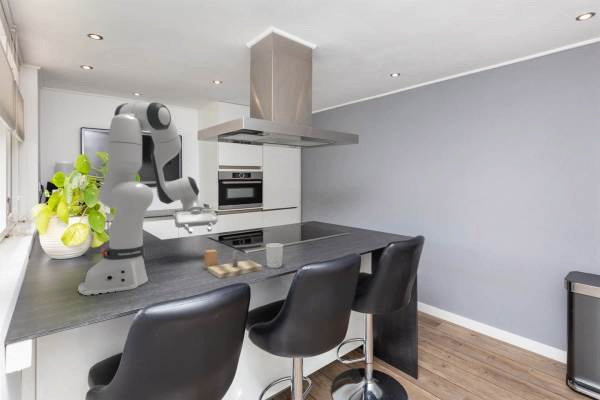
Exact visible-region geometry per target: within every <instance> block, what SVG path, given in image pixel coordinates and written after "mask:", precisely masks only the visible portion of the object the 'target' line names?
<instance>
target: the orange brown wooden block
mask: <svg viewBox="0 0 600 400" xmlns="http://www.w3.org/2000/svg"><path fill="white" fill-rule="evenodd" d="M217 265H218V251H217V250H216V249H207V250H206V249H205V250H204V269H205V270H207V271H208V267H212V266H217Z"/></svg>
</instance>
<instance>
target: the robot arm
mask: <svg viewBox="0 0 600 400" xmlns="http://www.w3.org/2000/svg"><path fill="white" fill-rule="evenodd" d="M143 132H150V136H151V139H152V141H153V144H154V150H153V152H152V153H151V155H150V159H151V166H152V170H153V175H154V180H155V184H156V196H157V198H158V200H159V202H160V203H163V204H167V205H169V204H171V203H173V202H176V201H180V203H181V204H182V210H175V211H173V212H172V217H173V218H174V224H175V227H176V228H180V229H181V228H183V229H185V230H186V231H187V233H188V234H190V235H191V234H193V229H192V228H190V227H203V226H208V227H207V229H206V230H207V232H209V233H210V232H212V229H213V228H212V226H213V225H216V224H217V223H218V220H219V218H218V215H217V214H216V212H215V211H214V209H213V207H212V204H207V203H204V202H201V201H200V200H199V193H200V189H199V188H198V184H197V181H196V180H195V178H193V177H191V176H185V177H181V178H178V179H176V180H175V179H174V180H171V181H165V175H164V171H163V168H164V166H165V165H166V164H167V163H168V162H169V161H171V160H172V159H174V158H175V157H177V156H178V154H179V153H180V151H181V149H182V141H181V137H180V134H179V132H178V130H177V127H176V125H175V123H174V121H173V120H172V114H171V112H170V110H169V108H168V107H167V106H166V105H164V104H163V103H161V102H148V101H147V102H142V101H138V102H136V101H135V102H130V103H129V102H125V103H122V104H120V105H117V107H116V108H115V111H114V116H113V117H112V118H111V121H110V126H109V133H108V146H107V148H108V155H107V157H108V158H107V168H106V172H105V175H104V179H103V183H102V185H101V186H100V188H99V189H98V191H97V196H98V197H97V198H98V199H99V202H100V203H101V204H102V205H104V206H106V207H107V208H109V209H113V210H115V211H114V217H113V220H112V222H111V223H110V225H109V227H108V237H109V239H108V241H109V244H108V245H109V247H108V248H106V247H102V248H101V249H100V253H101V254H102V256H103V257H102V259H101V260H100V261H98V262H97V263H96V264H94V265H93V266H92V267H90V268H89V269H88V271H87V272H86V275H85V281H84V282H82V283H80V284H79V285H78V287H77V292H78V291H79V293H81V294H84V295H83V296H85V295H87V296H92V295H91V294H94V295H100V294H99V293H102V294H108V293H107V292H109V293H115V291H116V292H121V291H123V292H124V291H129V290H134V289H136V288H138V287H139V286H141V285H143V284H145V283H147V282H148V281H149V278H148V275H147V271H146V266H145V260H144V259H145V255H146V253H145V245H144V243H143V241H144V238H143V237H144V235H143V234H144V233H143V232H144V231H143V230H144V220H145V217H146V213H147V211H148V209H149V207H150V206H151V205H152V203H153V202H154V193H153V190H152V189H151V187H150V186H148V185H146V184H144V183H142V182H138V181H136V178H137V175H138V173H139V171H140V170H141V168H142V167H143ZM79 293H78V294H79ZM81 294H80V295H81Z"/></svg>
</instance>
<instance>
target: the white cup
mask: <svg viewBox="0 0 600 400" xmlns="http://www.w3.org/2000/svg"><path fill="white" fill-rule="evenodd" d="M265 249H266V250H265V252H266V254H265V255H266V265H267V268H271V269H277V268H281V267H282V266H283V265H282V263H283V254H284V253H283V252H284V244H283V243H277V242H276V243H274V242H272V243H271V242H270V243H266V245H265Z"/></svg>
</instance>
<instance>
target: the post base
mask: <svg viewBox="0 0 600 400" xmlns="http://www.w3.org/2000/svg"><path fill="white" fill-rule="evenodd" d="M238 256H239V254H238V251H237V250H234V251H233V252H232V262H229V263H225V264H219V265H218V264H217V266H212V267H208V270H207V272H208V273H210V275H213V276H214V277H216V278H218V279H220V280H221V279H225V278H230V277H236V276H240V275H244V274H249V273H254V272H258V271H263V265H261V264H259V263H257V262H255V261H253V260H250V259H246V260H241V261H240V260H238V259H239V257H238Z"/></svg>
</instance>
